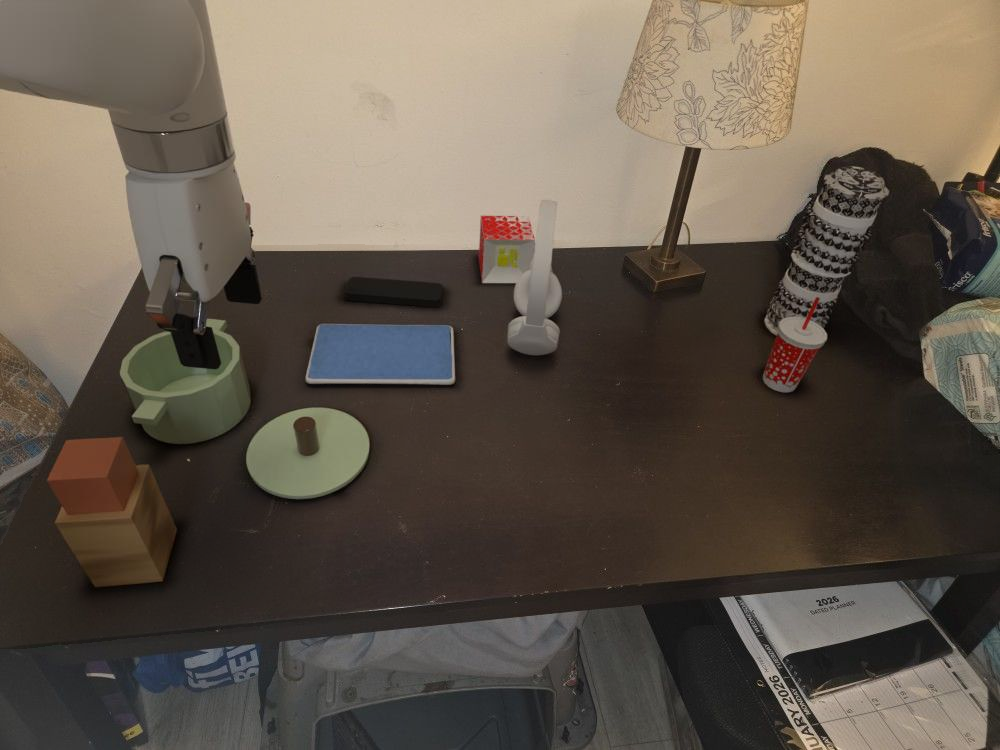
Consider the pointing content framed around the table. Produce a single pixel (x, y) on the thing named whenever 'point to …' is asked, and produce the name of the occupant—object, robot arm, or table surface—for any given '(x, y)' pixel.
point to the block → (93, 475)
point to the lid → (308, 453)
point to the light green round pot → (186, 389)
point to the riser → (124, 537)
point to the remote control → (394, 291)
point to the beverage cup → (793, 351)
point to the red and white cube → (505, 248)
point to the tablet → (382, 354)
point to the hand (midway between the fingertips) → (224, 331)
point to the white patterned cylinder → (828, 245)
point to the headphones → (538, 293)
